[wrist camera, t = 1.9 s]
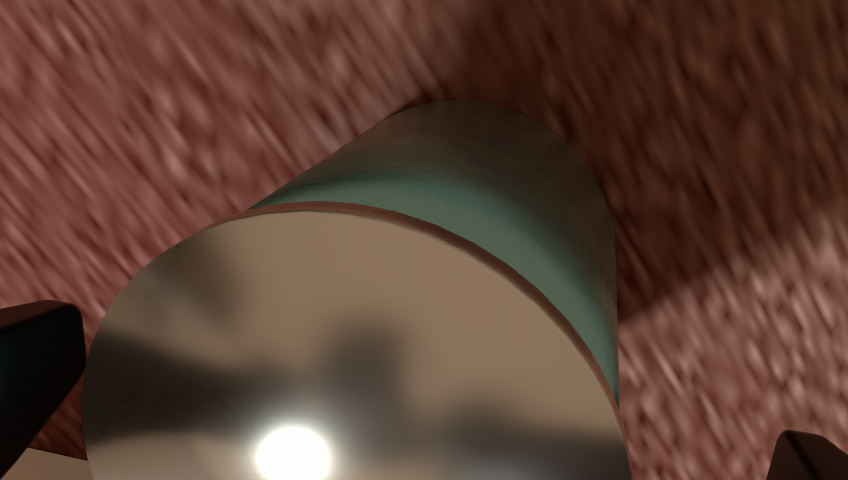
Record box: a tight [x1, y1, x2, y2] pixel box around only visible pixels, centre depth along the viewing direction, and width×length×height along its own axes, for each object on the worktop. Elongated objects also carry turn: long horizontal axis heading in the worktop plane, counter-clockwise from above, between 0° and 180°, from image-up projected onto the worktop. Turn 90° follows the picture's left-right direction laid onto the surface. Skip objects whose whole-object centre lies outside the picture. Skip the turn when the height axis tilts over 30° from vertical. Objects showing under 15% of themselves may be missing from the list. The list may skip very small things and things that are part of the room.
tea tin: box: [81, 99, 632, 480], centre depth 11 cm, size 6×6×7 cm
